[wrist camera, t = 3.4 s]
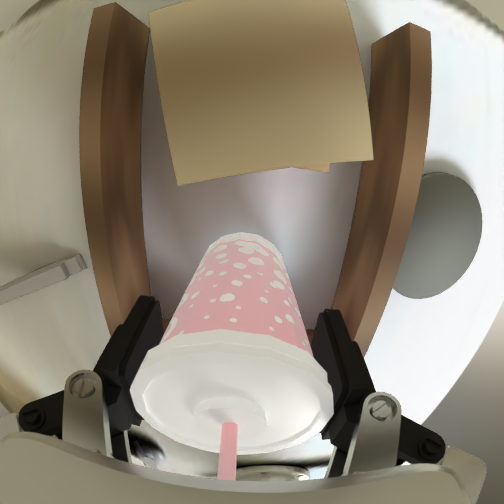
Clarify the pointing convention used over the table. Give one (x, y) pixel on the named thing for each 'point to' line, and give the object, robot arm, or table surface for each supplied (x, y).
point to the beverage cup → (235, 360)
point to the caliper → (41, 278)
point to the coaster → (439, 237)
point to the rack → (129, 168)
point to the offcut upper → (259, 86)
